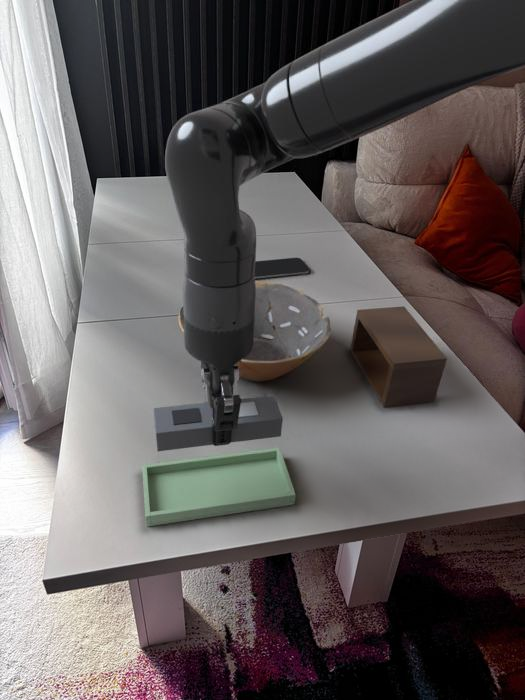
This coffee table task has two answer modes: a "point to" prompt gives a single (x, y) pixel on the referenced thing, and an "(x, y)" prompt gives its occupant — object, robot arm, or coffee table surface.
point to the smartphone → (280, 267)
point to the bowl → (281, 331)
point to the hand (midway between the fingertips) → (218, 428)
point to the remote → (196, 427)
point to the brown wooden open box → (396, 356)
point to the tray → (215, 486)
